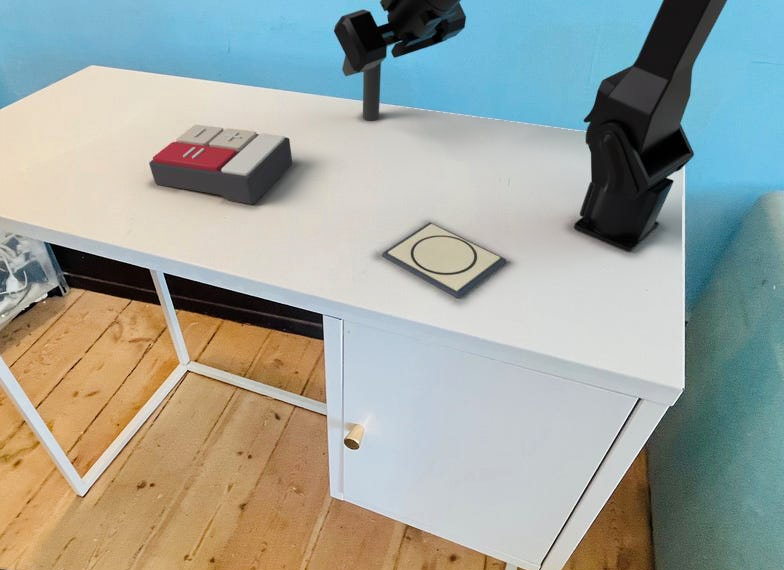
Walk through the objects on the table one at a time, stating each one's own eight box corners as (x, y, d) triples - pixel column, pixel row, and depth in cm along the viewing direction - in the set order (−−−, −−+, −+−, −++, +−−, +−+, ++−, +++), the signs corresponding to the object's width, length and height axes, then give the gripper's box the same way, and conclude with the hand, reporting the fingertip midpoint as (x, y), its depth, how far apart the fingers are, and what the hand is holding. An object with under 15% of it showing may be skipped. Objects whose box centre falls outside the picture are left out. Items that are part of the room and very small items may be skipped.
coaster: (505, 262, 59) (507, 257, 58) (458, 298, 55) (459, 293, 55) (429, 225, 64) (430, 220, 64) (381, 256, 61) (382, 251, 60)
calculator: (193, 120, 78) (289, 131, 72) (200, 150, 81) (293, 163, 75) (145, 157, 71) (247, 172, 66) (155, 188, 74) (253, 205, 69)
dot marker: (382, 116, 84) (385, 44, 77) (371, 122, 83) (373, 49, 76) (370, 112, 85) (372, 40, 78) (358, 117, 84) (359, 45, 77)
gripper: (461, -95, 68) (391, -7, 82) (344, -66, 60) (288, 26, 74) (502, -7, 69) (425, 65, 83) (392, 32, 62) (328, 104, 76)
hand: (369, 63), depth 79 cm, fingers open, 9 cm apart
